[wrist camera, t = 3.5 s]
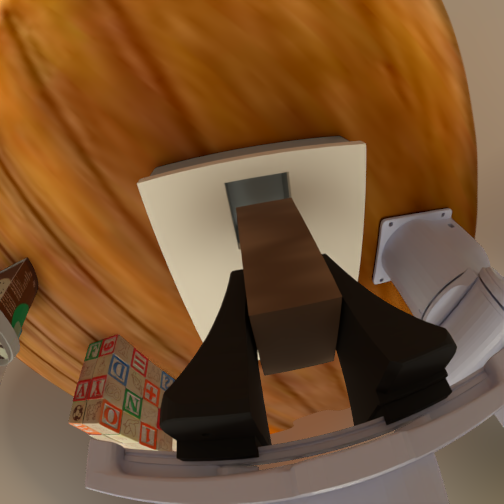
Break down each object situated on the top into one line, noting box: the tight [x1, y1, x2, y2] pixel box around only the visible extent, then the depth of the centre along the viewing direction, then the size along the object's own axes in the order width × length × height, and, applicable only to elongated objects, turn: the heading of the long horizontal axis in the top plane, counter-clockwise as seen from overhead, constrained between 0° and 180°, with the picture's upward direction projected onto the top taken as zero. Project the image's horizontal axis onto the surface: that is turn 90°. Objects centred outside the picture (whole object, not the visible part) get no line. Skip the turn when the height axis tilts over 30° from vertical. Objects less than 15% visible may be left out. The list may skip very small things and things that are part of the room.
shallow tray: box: [150, 136, 350, 243], centre depth 23 cm, size 14×20×3 cm
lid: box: [137, 141, 366, 360], centre depth 20 cm, size 15×21×4 cm
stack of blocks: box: [68, 334, 177, 451], centre depth 31 cm, size 21×6×12 cm, turn 24°
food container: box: [0, 258, 38, 366], centre depth 20 cm, size 12×6×10 cm, turn 104°
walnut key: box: [236, 198, 342, 375], centre depth 13 cm, size 3×4×8 cm
